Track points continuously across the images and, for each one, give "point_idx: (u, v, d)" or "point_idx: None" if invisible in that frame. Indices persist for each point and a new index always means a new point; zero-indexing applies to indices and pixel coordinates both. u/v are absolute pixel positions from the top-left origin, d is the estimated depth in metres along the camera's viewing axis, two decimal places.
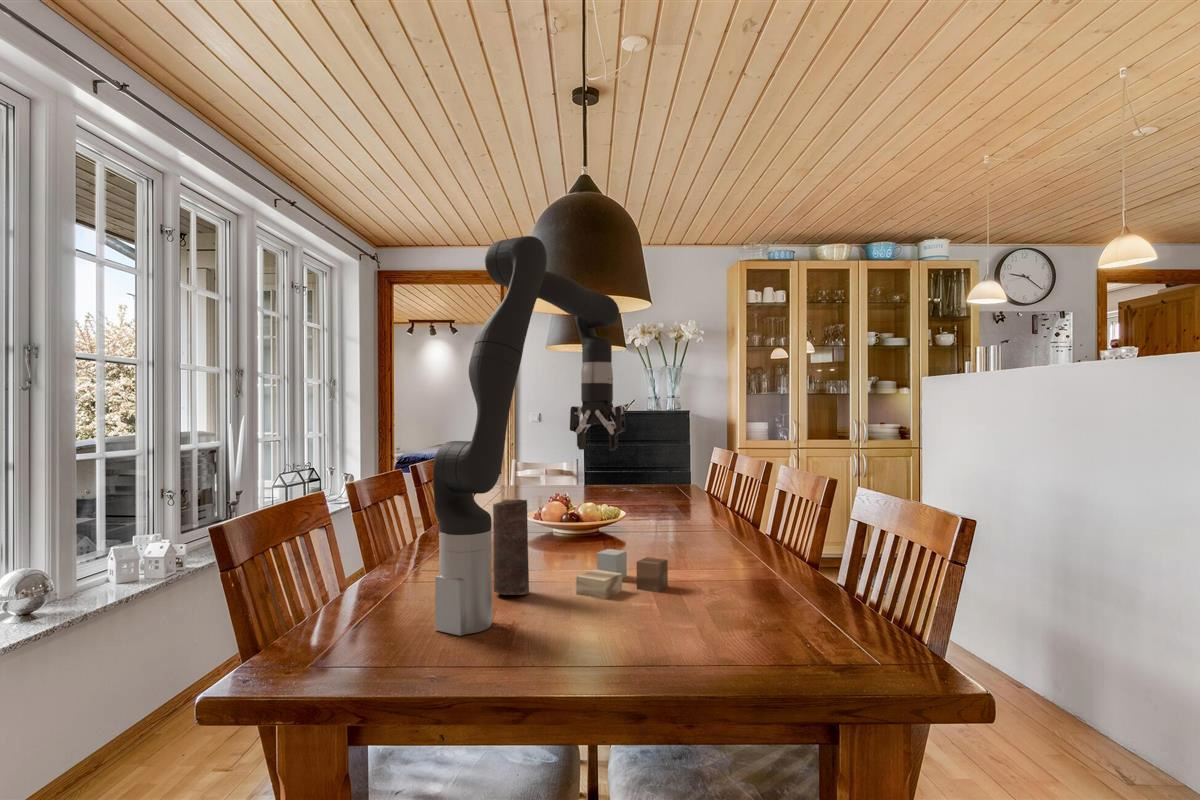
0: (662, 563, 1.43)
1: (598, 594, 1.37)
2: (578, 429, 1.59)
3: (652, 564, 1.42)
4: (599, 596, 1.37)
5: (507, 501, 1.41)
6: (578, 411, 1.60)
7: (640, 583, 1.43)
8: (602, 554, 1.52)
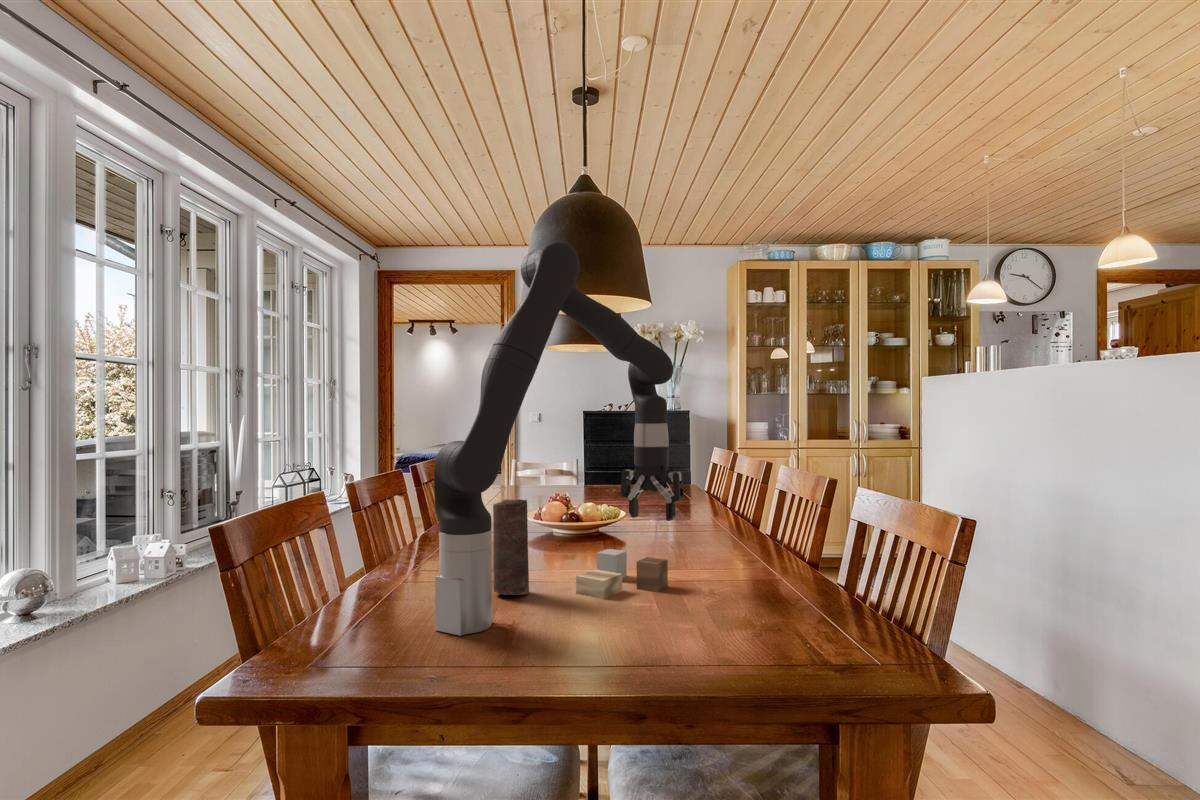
0: (662, 563, 1.43)
1: (597, 593, 1.37)
2: (630, 495, 1.46)
3: (652, 564, 1.42)
4: (598, 596, 1.37)
5: (507, 501, 1.41)
6: (630, 475, 1.47)
7: (640, 583, 1.43)
8: (602, 554, 1.52)
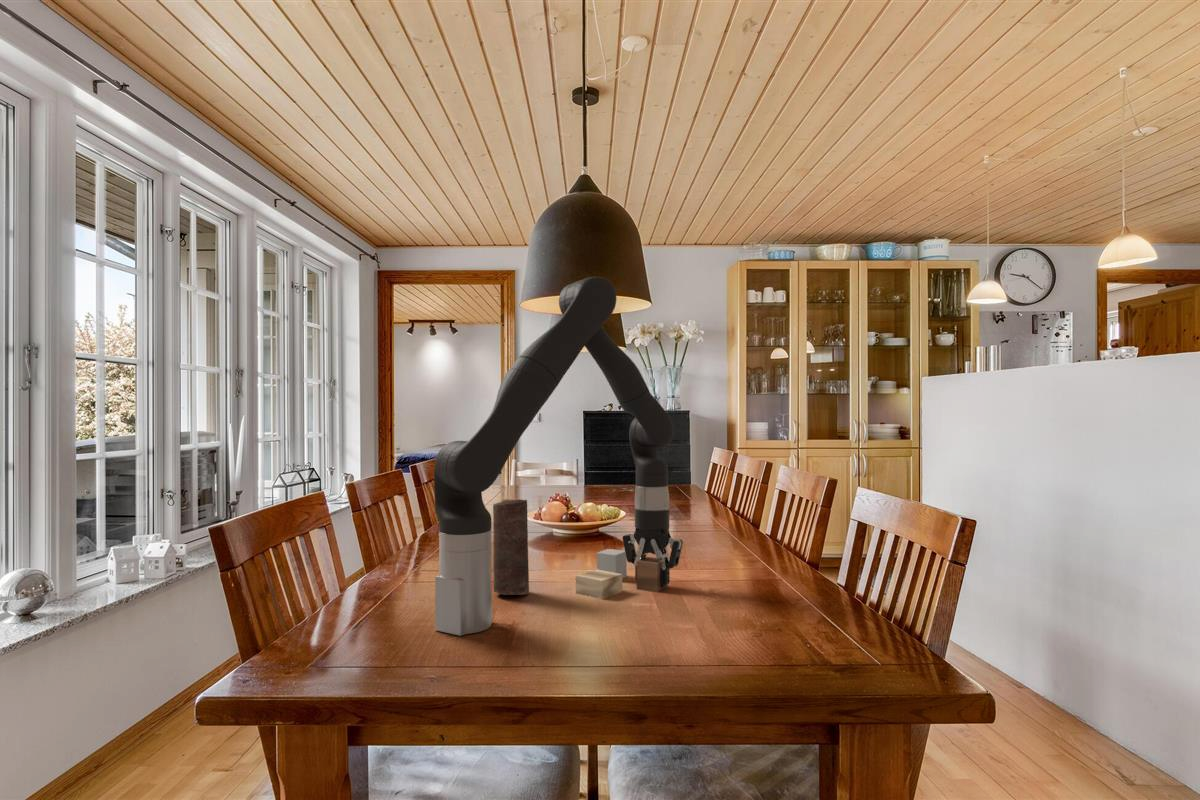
0: None
1: (595, 593, 1.37)
2: None
3: (652, 564, 1.42)
4: (597, 596, 1.37)
5: (507, 501, 1.41)
6: (631, 539, 1.47)
7: (640, 582, 1.43)
8: (602, 554, 1.52)
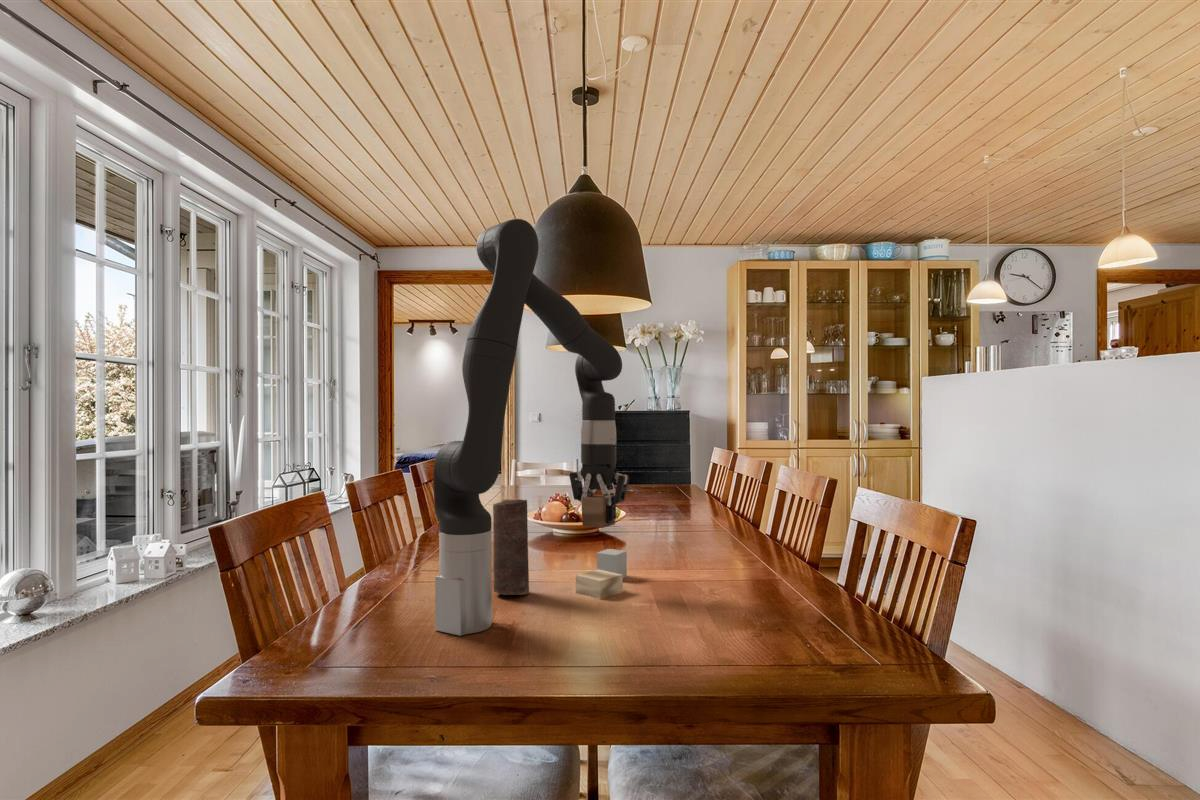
0: None
1: (594, 593, 1.37)
2: None
3: (597, 499, 1.38)
4: (595, 596, 1.37)
5: (507, 501, 1.41)
6: (578, 476, 1.43)
7: (586, 519, 1.40)
8: (602, 554, 1.52)
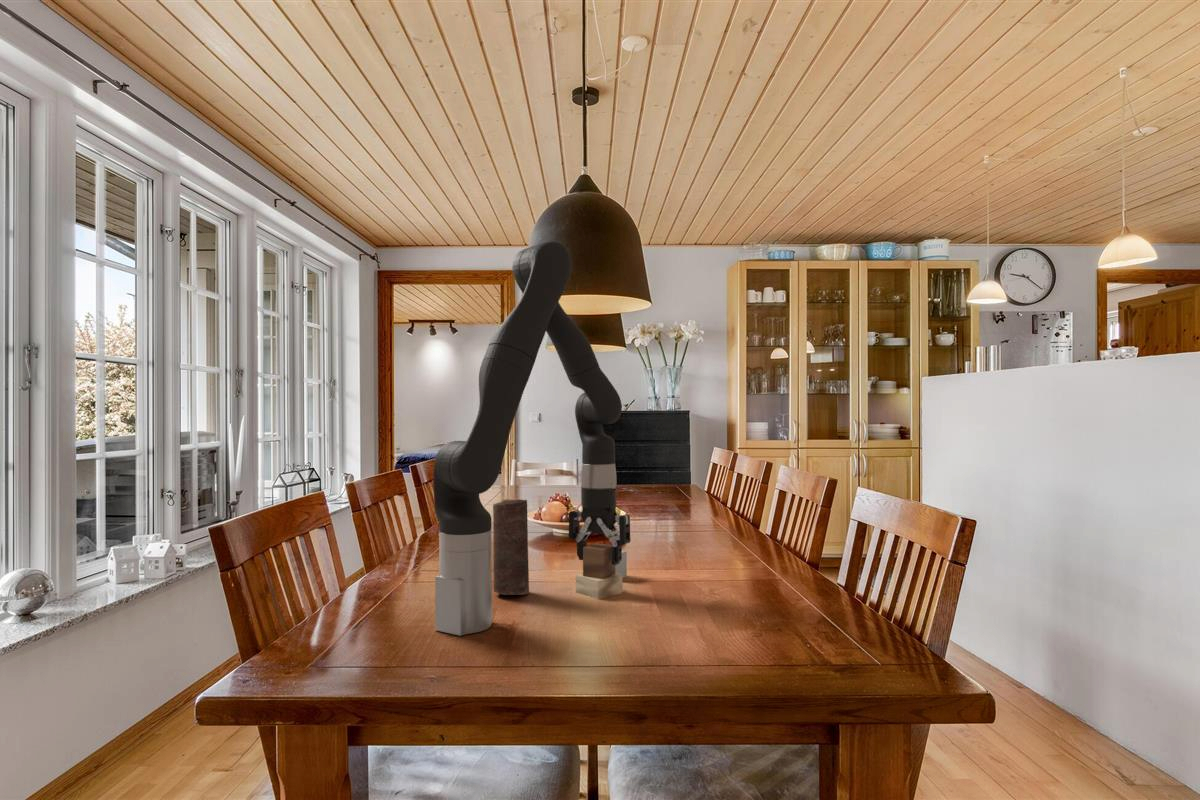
0: (609, 549, 1.40)
1: (592, 593, 1.37)
2: (578, 537, 1.42)
3: (598, 550, 1.38)
4: (593, 596, 1.37)
5: (507, 501, 1.41)
6: (578, 516, 1.43)
7: (586, 569, 1.40)
8: None
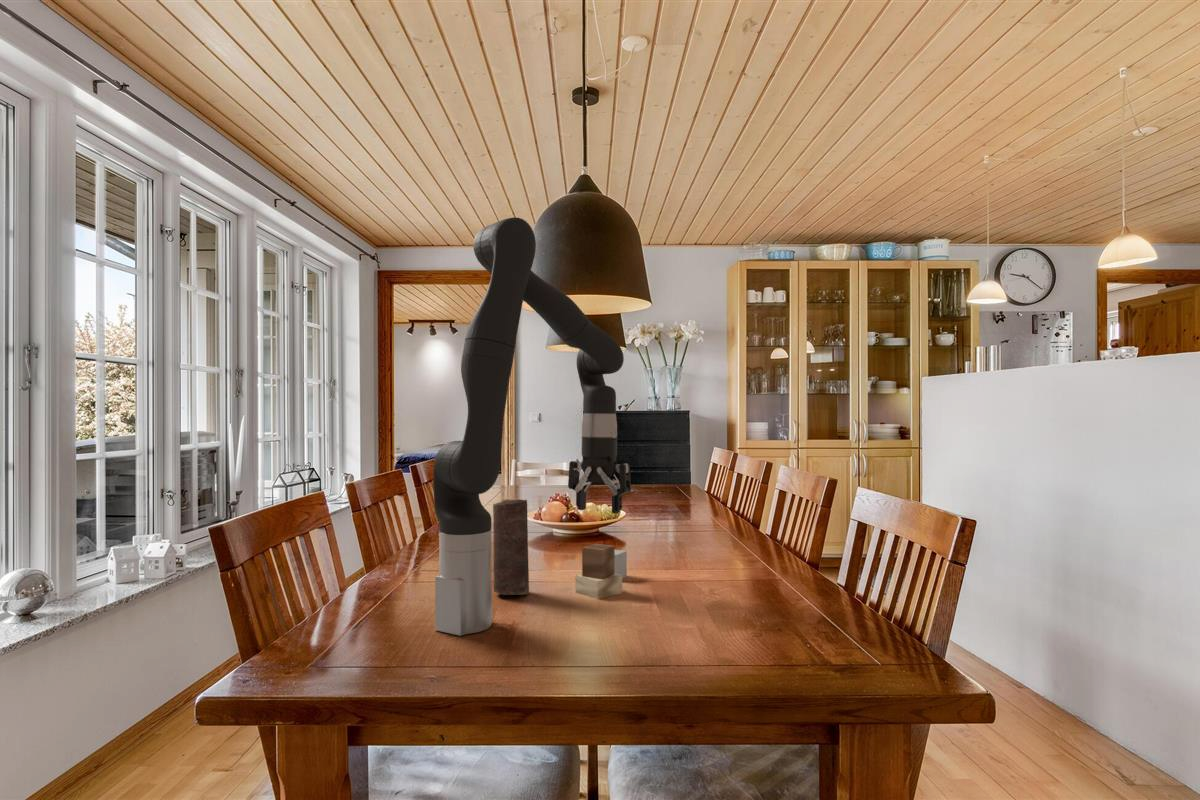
0: (608, 549, 1.40)
1: (592, 594, 1.37)
2: (577, 487, 1.42)
3: (597, 550, 1.38)
4: (593, 596, 1.37)
5: (507, 501, 1.41)
6: (578, 467, 1.43)
7: (585, 569, 1.40)
8: None
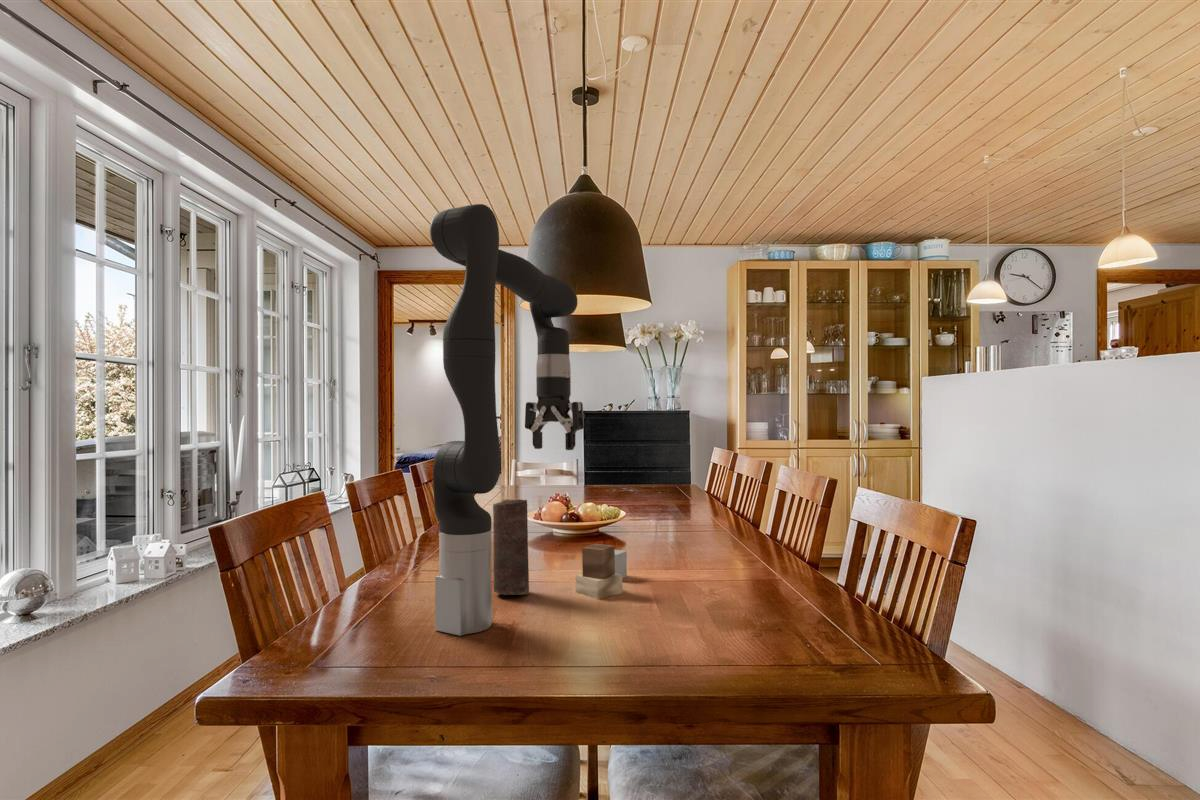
0: (608, 549, 1.39)
1: (592, 593, 1.37)
2: (533, 427, 1.48)
3: (597, 550, 1.38)
4: (593, 596, 1.37)
5: (507, 501, 1.41)
6: (534, 407, 1.49)
7: (586, 570, 1.39)
8: None
